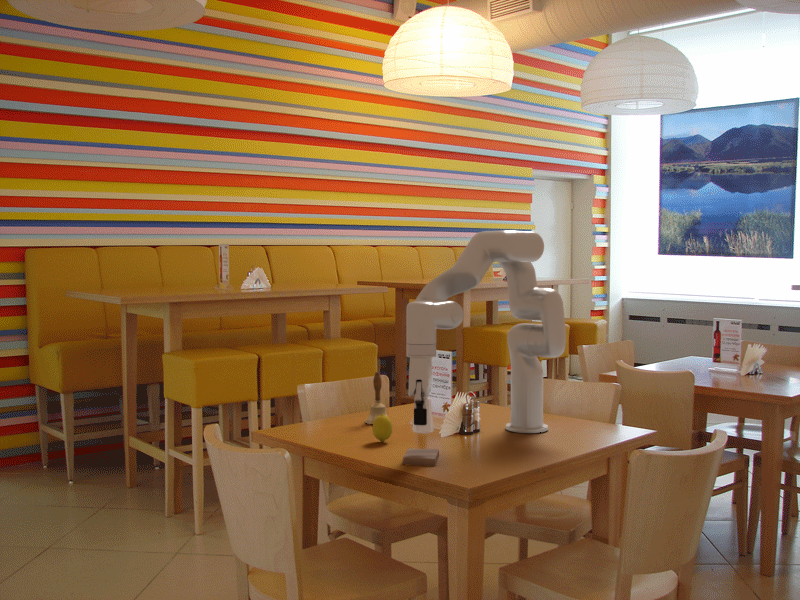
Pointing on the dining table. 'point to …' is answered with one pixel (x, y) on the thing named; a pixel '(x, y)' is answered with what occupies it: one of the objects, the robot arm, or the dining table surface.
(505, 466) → the dining table surface
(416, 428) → the pepper shaker
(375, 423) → the lemon
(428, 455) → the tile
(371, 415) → the hand bell
